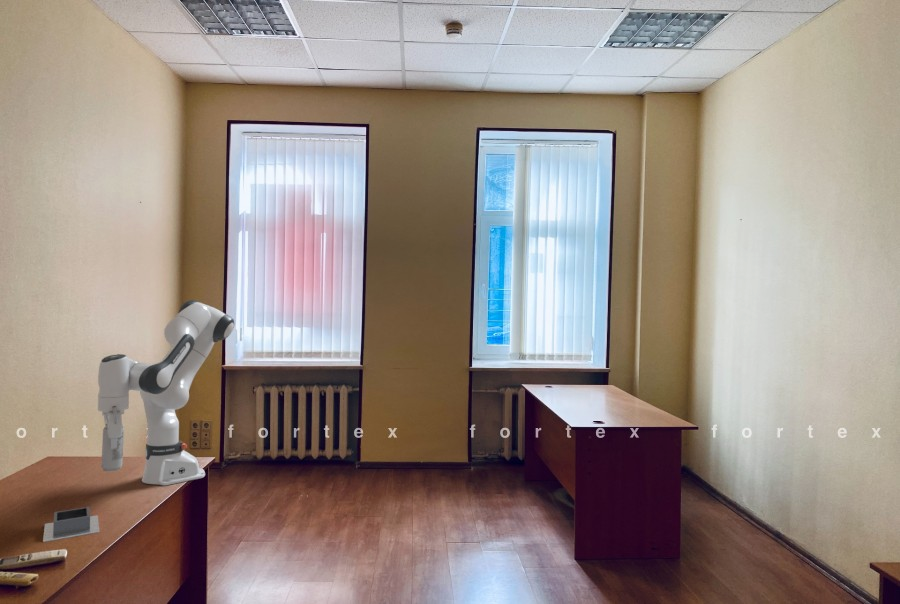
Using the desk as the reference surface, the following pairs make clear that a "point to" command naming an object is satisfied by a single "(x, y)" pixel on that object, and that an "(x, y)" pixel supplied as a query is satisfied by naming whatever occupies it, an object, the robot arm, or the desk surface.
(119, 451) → the energy drink can
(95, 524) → the socket
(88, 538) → the desk surface
